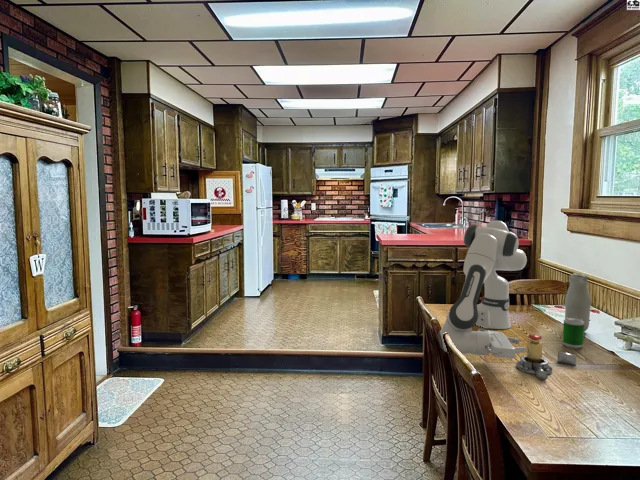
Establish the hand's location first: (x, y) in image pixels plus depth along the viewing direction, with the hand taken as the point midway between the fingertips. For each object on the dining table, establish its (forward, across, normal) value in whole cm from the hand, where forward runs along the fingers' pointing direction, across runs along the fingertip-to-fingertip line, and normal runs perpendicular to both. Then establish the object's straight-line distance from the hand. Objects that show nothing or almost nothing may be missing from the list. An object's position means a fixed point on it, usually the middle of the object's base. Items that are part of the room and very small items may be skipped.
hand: (522, 345), depth 159 cm
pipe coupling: (+19, +9, +9) cm, 22 cm away
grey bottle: (+37, +51, +9) cm, 64 cm away
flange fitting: (+4, -2, +9) cm, 10 cm away
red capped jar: (+4, 0, +8) cm, 9 cm away
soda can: (+28, +29, +9) cm, 41 cm away
